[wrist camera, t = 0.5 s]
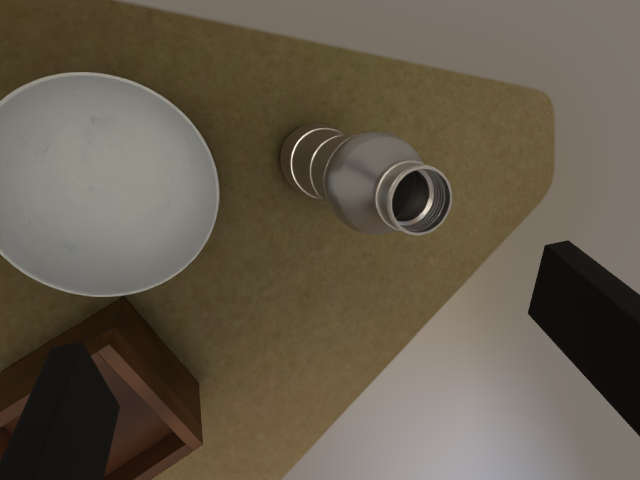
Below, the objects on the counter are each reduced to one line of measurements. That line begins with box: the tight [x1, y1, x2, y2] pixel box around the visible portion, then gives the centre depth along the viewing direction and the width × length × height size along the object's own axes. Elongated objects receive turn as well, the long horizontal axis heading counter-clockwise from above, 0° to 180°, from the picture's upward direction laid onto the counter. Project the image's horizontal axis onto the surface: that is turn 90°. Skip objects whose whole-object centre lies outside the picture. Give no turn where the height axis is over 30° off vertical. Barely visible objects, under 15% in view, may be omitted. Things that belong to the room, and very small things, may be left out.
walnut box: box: [0, 297, 203, 480], centre depth 36 cm, size 12×12×8 cm
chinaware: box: [0, 72, 219, 297], centre depth 31 cm, size 15×15×8 cm
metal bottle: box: [280, 123, 452, 235], centre depth 30 cm, size 6×7×20 cm
